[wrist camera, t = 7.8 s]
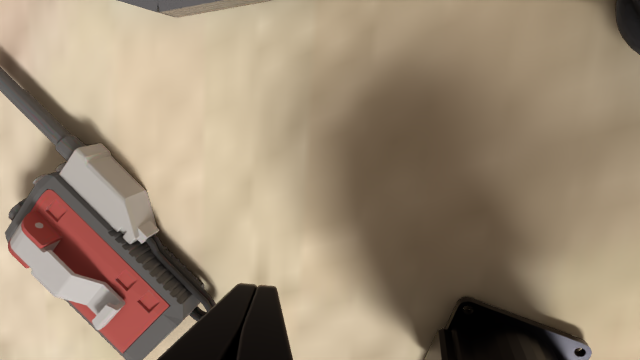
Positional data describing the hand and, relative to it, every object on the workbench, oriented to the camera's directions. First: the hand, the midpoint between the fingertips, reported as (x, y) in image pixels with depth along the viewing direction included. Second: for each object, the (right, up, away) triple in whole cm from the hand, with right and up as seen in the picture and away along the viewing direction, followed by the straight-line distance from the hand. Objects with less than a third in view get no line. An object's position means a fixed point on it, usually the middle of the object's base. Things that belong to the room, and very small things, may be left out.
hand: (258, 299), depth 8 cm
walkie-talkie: (-13, +1, +16) cm, 21 cm away
